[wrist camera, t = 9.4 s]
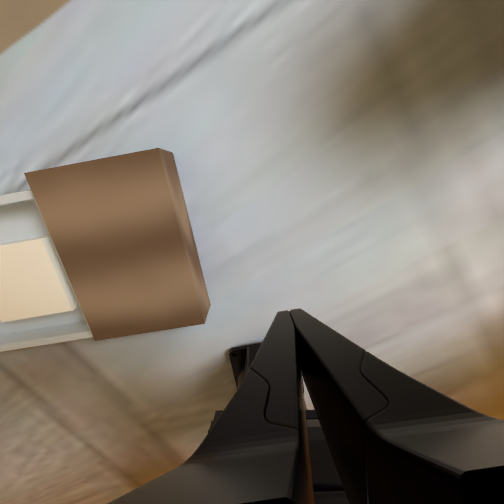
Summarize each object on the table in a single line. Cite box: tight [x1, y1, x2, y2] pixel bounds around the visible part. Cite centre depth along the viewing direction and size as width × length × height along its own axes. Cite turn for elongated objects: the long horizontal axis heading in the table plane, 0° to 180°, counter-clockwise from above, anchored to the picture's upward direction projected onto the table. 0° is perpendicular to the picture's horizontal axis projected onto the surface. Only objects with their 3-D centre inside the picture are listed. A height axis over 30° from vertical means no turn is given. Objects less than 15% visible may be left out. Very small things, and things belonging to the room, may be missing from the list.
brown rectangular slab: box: [24, 148, 210, 341], centre depth 19 cm, size 13×9×3 cm
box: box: [0, 190, 93, 352], centre depth 20 cm, size 12×12×2 cm
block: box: [0, 235, 79, 322], centre depth 20 cm, size 6×6×2 cm
